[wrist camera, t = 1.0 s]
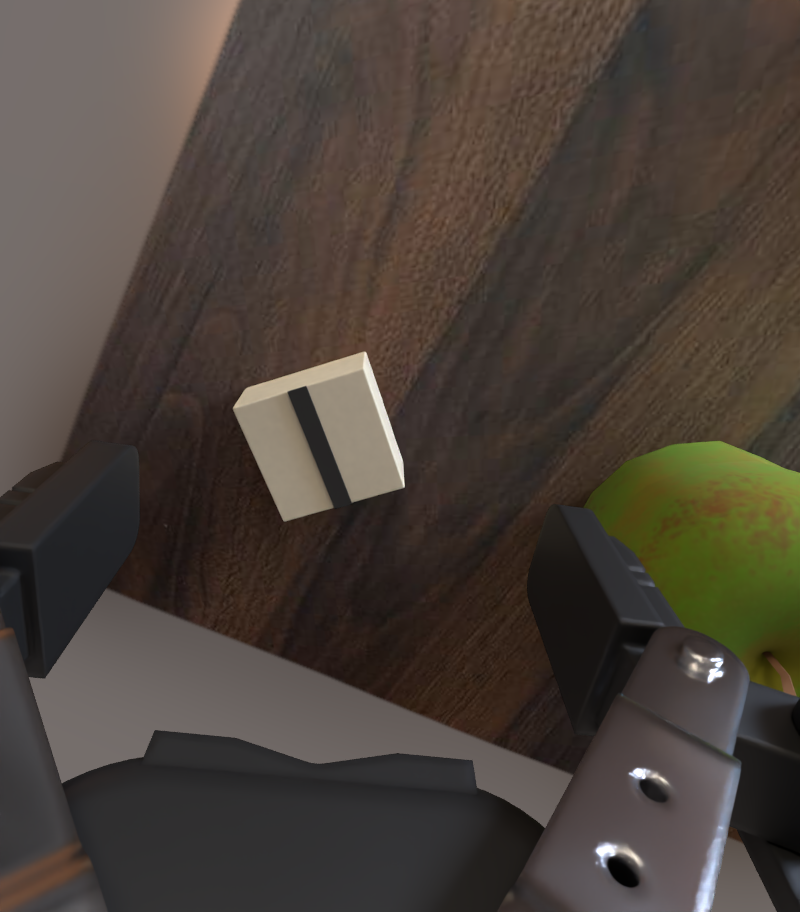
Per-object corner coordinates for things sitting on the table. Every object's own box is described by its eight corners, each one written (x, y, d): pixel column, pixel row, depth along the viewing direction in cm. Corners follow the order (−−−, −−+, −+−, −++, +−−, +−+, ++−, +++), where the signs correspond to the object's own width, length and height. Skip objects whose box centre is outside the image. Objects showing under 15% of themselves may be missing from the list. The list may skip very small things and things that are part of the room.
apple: (755, 619, 33) (925, 820, 23) (530, 629, 33) (598, 835, 22) (813, 401, 28) (1067, 533, 17) (545, 412, 28) (643, 551, 17)
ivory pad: (245, 387, 27) (230, 409, 24) (365, 350, 26) (363, 368, 24) (291, 494, 29) (282, 524, 26) (403, 462, 28) (405, 489, 26)
